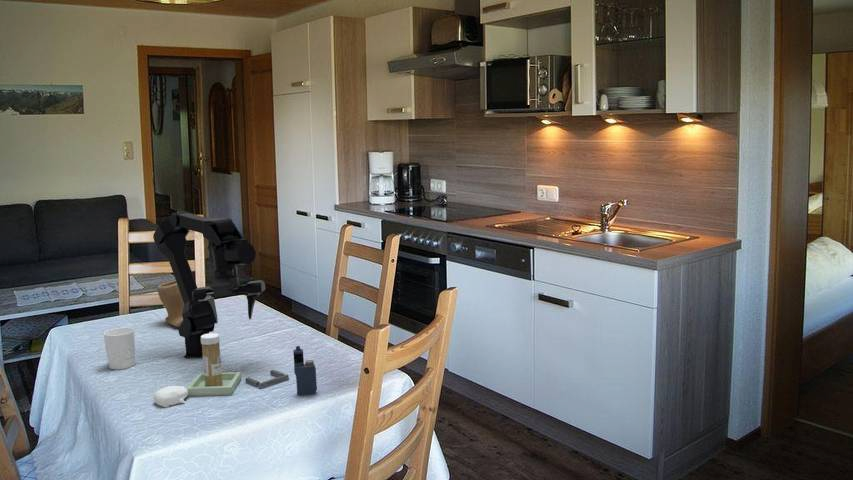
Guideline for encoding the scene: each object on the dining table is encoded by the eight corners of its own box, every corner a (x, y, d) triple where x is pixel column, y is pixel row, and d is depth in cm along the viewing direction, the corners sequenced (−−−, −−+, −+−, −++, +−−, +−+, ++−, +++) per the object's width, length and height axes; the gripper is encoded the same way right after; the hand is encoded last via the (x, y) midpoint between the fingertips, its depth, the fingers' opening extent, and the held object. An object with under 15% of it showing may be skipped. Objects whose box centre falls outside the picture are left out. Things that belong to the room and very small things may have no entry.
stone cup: (156, 323, 250) (152, 279, 248) (191, 316, 257) (188, 274, 254) (169, 333, 238) (165, 287, 235) (206, 326, 245) (202, 282, 242)
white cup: (143, 362, 209) (140, 328, 208) (123, 371, 202) (120, 336, 200) (120, 360, 212) (117, 326, 210) (100, 369, 205) (96, 334, 203)
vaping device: (296, 391, 183) (293, 345, 181) (317, 390, 184) (314, 344, 182) (295, 395, 181) (292, 348, 179) (316, 394, 181) (314, 347, 179)
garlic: (182, 394, 185) (181, 379, 184) (193, 401, 179) (192, 386, 179) (150, 402, 180) (149, 388, 179) (161, 410, 174) (159, 395, 174)
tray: (186, 396, 182) (186, 388, 182) (199, 380, 193) (198, 373, 193) (231, 394, 183) (231, 387, 182) (241, 379, 193) (241, 372, 193)
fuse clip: (245, 382, 191) (245, 378, 190) (273, 373, 197) (273, 369, 197) (260, 389, 186) (260, 384, 186) (288, 379, 192) (288, 375, 192)
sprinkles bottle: (222, 388, 186) (218, 336, 184) (203, 390, 185) (199, 338, 183) (223, 382, 190) (220, 331, 188) (205, 383, 190) (201, 333, 187)
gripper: (182, 273, 192) (190, 331, 194) (253, 264, 193) (262, 322, 194) (194, 267, 203) (202, 323, 205) (261, 259, 204) (269, 314, 205)
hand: (233, 321), depth 202 cm, fingers open, 9 cm apart
